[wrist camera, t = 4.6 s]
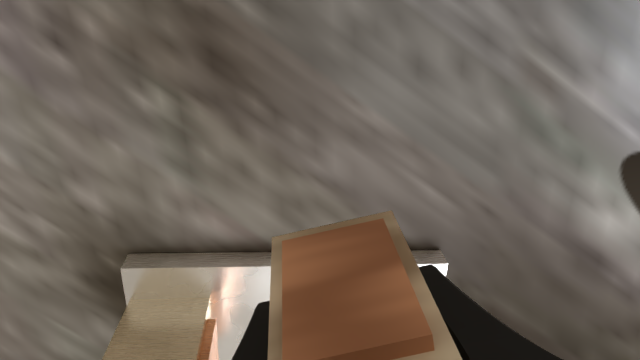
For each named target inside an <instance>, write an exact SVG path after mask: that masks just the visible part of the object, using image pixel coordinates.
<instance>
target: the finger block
mask: <svg viewBox="0 0 640 360" xmlns="http://www.w3.org/2000/svg"><path fill="white" fill-rule="evenodd" d="M268 360H462V358H461V356H460V353H459V351H458V349H457V347H456V345H455V343H454V341H453V339H452V337H451V335H450V332H449V330H448V328H447V326H446V324H445V322H444V320H443V318H442V316H441V313H440V311H439V309H438V307H437V305H436V303H435V301H434V299H433V297H432V295H431V292H430V290H429V288H428V286H427V284H426V282H425V280H424V278H423V276H422V273H421V271H420V269H419V267H418V265H417V263H416V261H415V259H414V257H413V255H412V252H411V250H410V248H409V246H408V244H407V242H406V240H405V238H404V236H403V234H402V231H401V229H400V227H399V225H398V223H397V221H396V219H395V217H394V215H393V212H392V211H387V212H383V213H378V214H374V215H369V216H365V217H360V218H356V219H351V220H347V221H343V222H338V223H334V224H329V225H325V226H320V227H316V228H311V229H307V230H302V231H298V232H294V233H289V234H285V235H280V236H276V237H272V251H271V278H270V306H269V333H268Z"/></svg>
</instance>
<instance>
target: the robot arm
mask: <svg viewBox="0 0 640 360" xmlns="http://www.w3.org/2000/svg"><path fill="white" fill-rule="evenodd" d="M419 269H420V271H421V273H422V276H423V278H424V280H425V282H426V284H427V286H428V288H429V290H430V292H431V295H432V297H433V299H434V301H435V303H436V305H437V307H438V309H439V311H440V313H441V316H442V318H443V320H444V322H445V324H446V326H447V328H448V330H449V332H450V335H451V337H452V339H453V341H454V343H455V345H456V347H457V349H458V351H459V353H460V356H461V358H462V360H562V359H560V358H558V357H556V356H555V355H553V354H551V353H549V352H547V351H546V350H544V349H542V348H540V347H539V346H537V345H535V344H534V343H532V342H530V341H529V340H527V339H526V338H524V337H523V336H521V335H519V334H518V333H516V332H515V331H513V330H512V329H510V328H509V327H508V326H506V325H505V324H503V323H502V322H500V321H499V320H498V319H496V318H495V317H494V316H492V315H491V314H490V313H488V312H487V311H486V310H484V309H483V308H482V307H481V306H479V305H478V304H477V303H476V302H474V301H473V300H472V299H470V298H469V297H468V296H467V295H466V294H464V293H463V292H462V291H461V290H460V289H459V288H458V287H456V286H455V285H454V284H453V283H452V282H451V281H450V280H449V279H448V278H446V277H445V276H444V275H443V274H442V273H441V272H440V271H439V270H438V269H437V268H436V267H435V266H433V265H432V264H430V265H426V266H421V267H419ZM269 306H270V301H265V302H261V303H258V305H257V306H256V308H255V310H254V313H253V315H252V318H251V320H250V322H249V324H248V327H247V329H246V331H245V333H244V335H243V337H242V340H241V342H240V344H239V346H238V348H237V350H236V352H235V354H234V356H233V357H232V359H231V360H268V333H269Z"/></svg>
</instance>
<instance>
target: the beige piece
mask: <svg viewBox="0 0 640 360" xmlns="http://www.w3.org/2000/svg"><path fill="white" fill-rule="evenodd" d="M411 252H412V255H413V257H414V259H415V261H416V263H417V265H418V267H421V266H426V265H430V264H432V265H433V266H435V267H436V268H437V269H438V270H439V271H440V272H441V273H442V274H443V275H444V276H445V277H446V274H447V269H448V262H447V261H446V259H445V257H444V255H443V254H442V252H441V250H411ZM120 270H121V275H122V281H123V287H124V293H125V299H126V305H127V307H126V309H125V311H124V314H123V316H122V318H121V320H120V322H119V324H118V326H117V329H116V331H115V333H114V335H113V337H112V339H111V341H110V344H109V346H108V348H107V350H106V352H105V354H104V357H103V359H102V360H231V359H232V357H233V356H234V354H235V352H236V350H237V348H238V346H239V344H240V342H241V340H242V337H243V335H244V333H245V331H246V329H247V327H248V324H249V322H250V320H251V318H252V315H253V313H254V310H255V308H256V306H257V305H258V303H261V302H265V301H270V278H271V252H229V253H146V254H128V256H127V257H126V259H125V261H124V263H123V265H122V267H121V268H120Z"/></svg>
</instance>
